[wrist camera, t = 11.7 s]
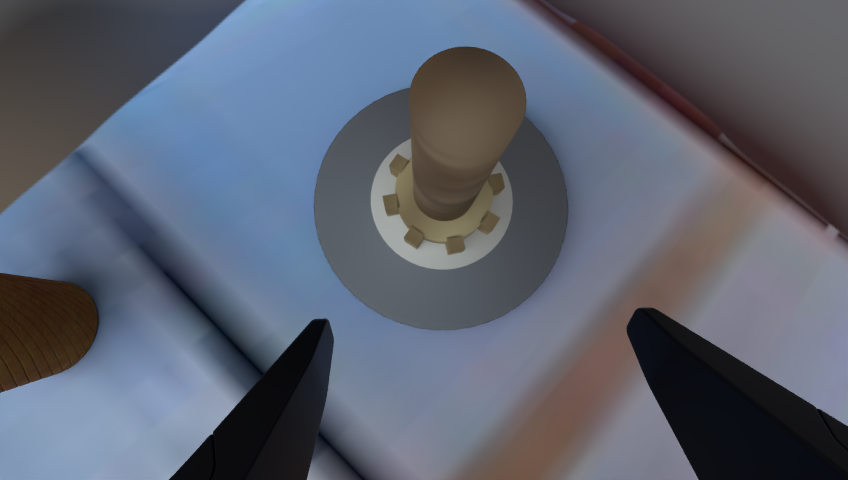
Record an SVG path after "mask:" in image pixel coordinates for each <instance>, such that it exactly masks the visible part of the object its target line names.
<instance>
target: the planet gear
mask: <svg viewBox="0 0 848 480" xmlns="http://www.w3.org/2000/svg"><path fill="white" fill-rule="evenodd" d="M409 109H410V130H411V151H412V157H411V158H410V159H409V160H407V159H406V158H404V157H402V156H401V155H399V154H398V153H397V155H396V156H395V158H394V159H393V160H392V162H391V163H390V165H389V168H390V172H391V175H393V176H394V177H396V178H397V180H396V186H395V194H390V195H385V196H382V197H383V202H384V207H385V211H386V214H387V216H393V215H398V214H400V217H401V219H402V221H403V222H404V224H405V225H406V226H407V228H408V229H409V230H408V232H407V233H406V235H405V236H404V241H405V242H406V243H407V244H409V245H410V246H412V247H413V248H415V249H418V247H419V246H420V244H421V243H422V241H423V240H426V241H429V242H433V243H439V244H445V246H446V250H447V255H452V254H457V253H462V252H463V251H464V250H465V245H464V241H463V239H464V238H466V237H467V236H469V235H470V234H472V233H473V232H474V231H475V230H476V229H478V230H480V231H481V232H483V233H484V234H486V235H488V234H489V233H490V232H492V231H493V229H494V228H495V226H496V224H497V223H498V221H499V220H500V217H498V216H496V215H495V214H493V213H492V212H490V208H491V205H492V200H493V196H494V195H499V194H500V192H501V191H502V190H503V189H504V188H505V185H504V181H503V177H502V173H497V174H492V175H490V174H491V173H492V171H493V169H494V168H495V166H496V165H497V163H498V161H499V160H500V158H501V156H502V155H503V153H504V151H505V150H506V148H507V147H508V145H509V143H510V142H511V140H512V138H513V137H514V135H515V133H516V132H517V130H518V128H519V127H520V125H521V123H522V121H523V118H524V115H525V110H526V94H525V89H524V86H523V83H522V81H521V79H520V77H519V75H518V74H517V72H516V71H515V69H514V68H513V67H512V66H511V65H510V64H509V63H508V62H507V61H505V60H504V59H503V58H501V57H500V56H498V55H496V54H494V53H492V52H490V51H487V50H485V49H481V48H476V47H455V48H451V49H447V50H444V51H441V52H439V53H437V54H435V55H434V56H432V57H431V58H429V59H428V60H427V61H426V62H425V63H424V64H423V65H422V66H421V67H420V68H419V69H418V71H417V73H416V74H415V76H414V78H413V80H412V83H411V87H410V92H409Z"/></svg>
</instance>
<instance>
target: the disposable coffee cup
mask: <svg viewBox="0 0 848 480" xmlns="http://www.w3.org/2000/svg"><path fill="white" fill-rule="evenodd" d="M97 324H98V317H97V310H96V307H95V304H94V301H93V300H92V298H91V297H90V295H89V294H88V293H87V292H86V291H85V290H84V289H82V288H81V287H79V286H77V285H74V284H72V283H68V282H62V281H53V280H46V279H39V278H33V277H25V276H19V275H11V274H5V273H0V393H1V392H4V391H5V390H6V391H7V390H10V389H13V388H16V387H18V386H22V385H25V384H28V383H30V382H34V381H37V380H40V379H42V378H46V377H49V376H52V375H55V374H58V373H61V372H63V371H65V370H67V369H69V368H70V367H72V366H73V365H75V364H76V363H77V362H78V361H79V360H80V359H81V358H82V357H83V356H84V355H85V353H86V352H87V351H88V349H89V348H90V346H91V344H92V342H93V340H94V337H95V334H96V331H97Z"/></svg>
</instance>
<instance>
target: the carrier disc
mask: <svg viewBox="0 0 848 480" xmlns="http://www.w3.org/2000/svg"><path fill="white" fill-rule="evenodd" d="M409 92H410V88H407V89H403V90H400V91H397V92H394V93H392V94H389V95H386V96H385V97H383V98H381V99H379V100H377V101H375V102H373V103H372V104H370V105H369V106H367V107H366V108H364V109H363V110H361V111H360V112H359V113H358V114H357V115H355V116H354V117H353V118H352V119H351V120H350V121H349V122H348V123H347V124H346V125H345V126H344V127H343V129H342V130H341V131H340V132H339V133H338V135H337V136H336V138H335V139H334V141H333V142H332V144H331V145H330V147H329V149H328V151H327V153H326V155H325V157H324V159H323V161H322V164H321V167H320V170H319V173H318V177H317V182H316V187H315V195H314V215H315V225H316V229H317V234H318V238H319V242H320V244H321V247H322V250H323V252H324V255H325V257H326V259H327V261H328V262H329V264H330V266H331V268H332V270H333V271H334V273H335V274H336V275H337V277H338V278H339V280H340V281H341V282H342V284H343V285H344V286H345V287H346V288H347V289H348V290H349V291H350V292H351V293H352V294H353V295H354V296H355V297H356V298H357V299H359V300H360V301H361V302H362V303H364V304H365V305H366V306H367V307H369V308H370V309H372V310H374V311H376V312H377V313H379V314H381V315H382V316H384V317H386V318H389V319H391V320H394V321H396V322H398V323H401V324H405V325H409V326H412V327H416V328H422V329H431V330H456V329H463V328H469V327H473V326H477V325H480V324H484V323H487V322H490V321H492V320H494V319H496V318H498V317H501V316H503V315H505V314H506V313H508V312H509V311H511V310H513V309H514V308H516V307H517V306H519V305H520V304H521V303H522V302H524V301H525V300H526V299H527V298H528V297H530V296H531V295H532V294H533V293H534V292H535V290H536V289H537V288H538V287H539V286H540V285H541V284H542V283H543V281H544V280H545V278H546V277H547V275H548V274H549V272H550V271H551V269H552V268H553V266H554V264H555V262H556V259H557V257H558V255H559V253H560V250H561V247H562V244H563V241H564V237H565V232H566V227H567V217H568V201H567V190H566V186H565V181H564V177H563V174H562V171H561V168H560V165H559V163H558V160H557V158H556V156H555V154H554V152H553V150H552V149H551V147H550V145H549V144H548V142H547V141H546V139H545V138H544V137H543V135H542V134H541V132H540V131H539V130H538V129H537V128H536V127H535V126H534V125H533V124H532V122H531V121H529V120H528V119H527V118H526V117H525V116H524V118H523V121H522V123H521V125H520V127H519V128H518V130H517V132H516V133H515V135H514V137H513V138H512V140H511V142H510V143H509V145H508V147H507V148H506V150H505V151H504V153H503V155H502V156H501V158H500V160H499V161H498V163H497V165H496V166H495V168H494V169H493V171H492V173H491V174H490V175H492V174H497V173H502V177H503V181H504V185H505V188H504V189H503V190H502V191H501V192H500V194H499V195H494V196H493V200H492V205H491V208H490V212H492V213H493V214H495V215H496V216H498V217H500V220H499V221H498V223H497V224H496V226H495V228H494V229H493V231H492V232H490V233H489V234H488V235H486V234H484V233H483V232H481V231H480V230H478V229H476V230H475V231H474V232H473V233H472V234H470V235H469V236H467V237H466V238H464V239H463V241H464V245H465V250H464V251H463V252H462V253H457V254H452V255H447V250H446V246H445V244H439V243H433V242H429V241H426V240H423V241H422V243H421V244H420V246H419V247H418V249H415V248H413V247H412V246H410V245H409V244H407V243H406V242H405V241H404V236H405V235H406V233H407V232H408V230H409V229H408V228H407V226H406V225H405V224H404V222H403V221H402V219H401V217H400V214H398V215H393V216H387V214H386V211H385V207H384V202H383V197H382V196H385V195H390V194H395V186H396V180H397V178H396V177H394V176H393V175H391V172H390V168H389V165H390V163H391V162H392V160H393V159H394V158H395V156H396V155H397V153H398V154H399V155H401V156H402V157H404V158H406V159H407V160H409V159H410V158H411V157H412V151H411V130H410V109H409Z"/></svg>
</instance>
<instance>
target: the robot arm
mask: <svg viewBox="0 0 848 480" xmlns="http://www.w3.org/2000/svg"><path fill="white" fill-rule="evenodd" d="M627 335H628V337H629V340H630V342H631V344H632V347H633V349H634V352H635V354H636V356H637V359H638V361H639V364H640V366H641V369H642V371H643V373H644V376H645V378H646V380H647V383H648V385H649V387H650V389H651V391H652V393H653V395H654V396H655V398H656V400H657V402H658V404H659V406H660V408H661V410H662V411H663V413H664V415H665V417H666V419H667V421H668V423H669V425H670V427H671V428H672V430H673V432H674V434H675V436H676V438H677V440H678V442H679V443H680V445H681V447H682V449H683V451H684V453H685V455H686V457H687V459H688V460H689V462H690V464H691V466H692V468H693V470H694V472H695V474H696V475H697V477H698V479H699V480H848V426H846V425H845V424H843V423H841V422H840V421H838V420H836V419H835V418H833V417H832V416H830V415H828V414H827V413H825V412H823V411H822V410H820V409H816V407H815V406H813V405H812V404H810V403H809V402H807V401H805V400H804V399H802V398H800V397H799V396H797V395H795V394H794V393H792V392H791V391H789V390H787V389H786V388H784V387H782V386H781V385H779V384H777V383H776V382H774V381H773V380H771V379H769V378H768V377H766V376H764V375H763V374H761V373H759V372H758V371H756V370H755V369H753V368H751V367H750V366H748V365H746V364H745V363H743V362H741V361H740V360H738V359H737V358H735V357H733V356H732V355H730V354H728V353H727V352H725V351H724V350H722V349H720V348H719V347H717V346H715V345H714V344H712V343H710V342H709V341H707V340H706V339H704V338H702V337H701V336H699V335H697V334H696V333H694V332H692V331H691V330H689V329H688V328H686V327H684V326H683V325H681V324H679V323H678V322H676V321H674V320H673V319H671V318H670V317H668V316H666V315H665V314H663V313H661V312H660V311H658V310H656V309H654V308H638V309H636V310H635V312H634V314H633V316H632V317H631V319H630V321H629V323H628V325H627ZM333 345H334V338H333V334H332V330H331V326H330V323H329V320H328V319H314V320H312V321H311V322H310V323H309V324H308V325H307V327H306V328H305V329H304V330H303V331H302V332H301V333H300V334H299V336H298V337H297V338H296V339H295V340H294V341H293V342H292V343H291V345H290V346H289V347H288V348H287V349H286V350H285V351H284V352H283V354H282V355H281V356H280V357H279V358H278V359H277V360H276V361H275V363H274V364H273V365H272V366H271V367H270V368H269V369H268V370H267V372H266V373H265V374H264V375H263V376H262V377H261V378H260V379H259V381H258V382H257V383H256V384H255V385H254V386H253V387H252V388H251V390H250V391H249V392H248V393H247V394H246V395H245V396H244V397H243V399H242V400H241V401H240V402H239V403H238V404H237V405H236V406H235V408H234V409H233V410H232V411H231V412H230V413H229V414H228V415H227V417H226V418H225V419H224V420H223V421H222V422H221V423H220V425H219V426H218V427H217V428H216V429H215V430H214V431H213V434H211V435H210V436H209V437H208V438H207V439H206V440H205V441H204V442H203V443H202V445H201V446H200V447H199V448H198V449H197V450H196V451H195V452H194V453H193V455H192V456H191V457H190V458H189V459H188V460H187V461H186V462H185V463H184V464H183V465H182V466H181V468H180V469H179V470H178V471H177V472H176V473H175V474H174V475H173V476H172V477H171V478H170V479H169V480H307V476H308V472H309V468H310V464H311V460H312V456H313V452H314V447H315V443H316V439H317V435H318V431H319V427H320V423H321V419H322V415H323V410H324V406H325V402H326V397H327V391H328V383H329V376H330V368H331V360H332V353H333Z"/></svg>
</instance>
